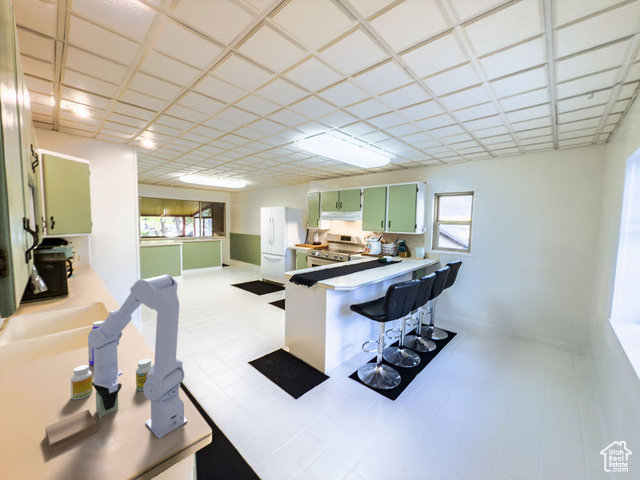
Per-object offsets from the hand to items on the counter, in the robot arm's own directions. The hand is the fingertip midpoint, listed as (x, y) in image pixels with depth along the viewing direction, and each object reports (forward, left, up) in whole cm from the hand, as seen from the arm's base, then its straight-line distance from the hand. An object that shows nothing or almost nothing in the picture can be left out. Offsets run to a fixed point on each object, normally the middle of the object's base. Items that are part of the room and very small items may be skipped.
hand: (107, 405), depth 81 cm
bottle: (+39, -7, -2) cm, 40 cm away
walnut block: (-4, +9, -2) cm, 10 cm away
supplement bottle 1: (+16, +3, -2) cm, 16 cm away
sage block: (0, 0, -2) cm, 2 cm away
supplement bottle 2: (+4, -12, -2) cm, 13 cm away
